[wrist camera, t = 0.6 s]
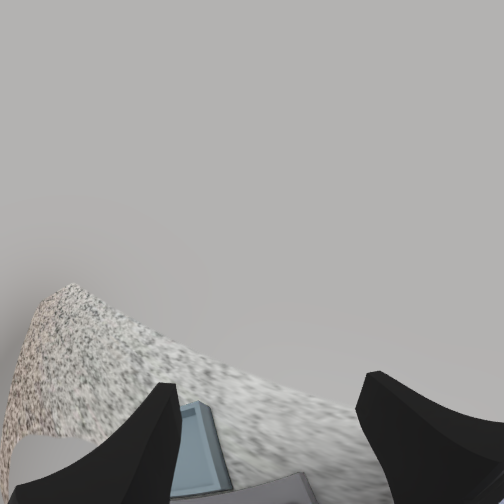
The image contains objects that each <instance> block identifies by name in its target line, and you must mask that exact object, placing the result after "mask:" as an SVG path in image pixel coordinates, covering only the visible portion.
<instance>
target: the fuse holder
mask: <svg viewBox="0 0 504 504" xmlns="http://www.w3.org/2000/svg"><path fill="white" fill-rule="evenodd" d="M170 504H318V503H317V501H316V499H315V496H314V494H313V492H312V490H311V487H310V485H309V483H308V480H307V478H306V476H305V474H304V472H303V473H296V474H293V475H290V476H287V477H284V478H281V479H278V480H275V481H272V482H269V483H265V484H262V485H258V486H254V487H251V488H247V489H242V490H238V491H234V492H229V493H224V494H219V495H213V496H207V497H201V498H194V499H185V500H175V501H170Z"/></svg>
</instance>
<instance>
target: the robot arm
mask: <svg viewBox="0 0 504 504" xmlns="http://www.w3.org/2000/svg"><path fill="white" fill-rule="evenodd" d="M355 410H356V413H357V416H358V419H359V422H360V425H361V428H362V430H363V432H364V434H365V436H366V438H367V440H368V442H369V443H370V445H371V447H372V449H373V451H374V453H375V455H376V457H377V459H378V460H379V462H380V464H381V466H382V468H383V471H384V473H385V475H386V478H387V481H388V484H389V487H390V490H391V493H392V496H393V500H394V503H395V504H504V423H502V422H493V421H487V420H482V419H478V418H474V417H470V416H467V415H463V414H461V413H458V412H455V411H453V410H450V409H448V408H445V407H443V406H441V405H439V404H437V403H435V402H433V401H431V400H429V399H427V398H425V397H424V396H422V395H420V394H418V393H417V392H415V391H413V390H412V389H410V388H408V387H407V386H405V385H403V384H402V383H400V382H398V381H397V380H395V379H393V378H392V377H390V376H389V375H387V374H385V373H383V372H381V371H375V372H370V373H367V374H366V378H365V381H364V384H363V387H362V390H361V393H360V396H359V399H358V402H357V405H356V408H355ZM182 421H183V420H182V415H181V410H180V405H179V400H178V394H177V389H176V384H173V383H160V382H159V383H158V384H157V385H156V386H155V388H154V389H153V390H152V391H151V393H150V394H149V395H148V396H147V398H146V399H145V400H144V401H143V403H142V404H141V405H140V406H139V407H138V408H137V410H136V411H135V412H134V413H133V414H132V415H131V416H130V417H129V418H128V420H127V421H126V422H125V423H124V424H123V425H122V426H121V427H120V428H119V429H118V430H116V431H115V432H114V433H113V434H112V435H111V436H110V437H109V438H108V439H107V440H106V441H104V442H103V443H102V444H101V445H99V446H98V447H97V448H96V449H94V450H93V451H92V452H90V453H89V454H87V455H86V456H84V457H83V458H81V459H80V460H78V461H77V462H75V463H73V464H71V465H70V466H68V467H66V468H64V469H62V470H60V471H58V472H56V473H53V474H51V475H49V476H47V477H44V478H41V479H38V480H35V481H32V482H29V483H25V484H21V485H17V486H16V488H15V489H14V491H13V493H12V495H11V498H10V500H9V502H8V504H170V494H171V487H172V482H173V477H174V473H175V468H176V463H177V458H178V453H179V449H180V444H181V434H182Z"/></svg>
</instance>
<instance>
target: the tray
mask: <svg viewBox="0 0 504 504" xmlns="http://www.w3.org/2000/svg"><path fill="white" fill-rule="evenodd" d="M180 410H181V415H182V420H183V421H182V434H181V444H180V449H179V453H178V458H177V463H176V468H175V473H174V477H173V482H172V487H171V494H170V499H171V498H182V497H190V496H197V495H204V494H210V493H216V492H221V491H226V490H231V489H233V488H232V485H231V482H230V479H229V475H228V472H227V469H226V466H225V462H224V459H223V455H222V452H221V448H220V445H219V441H218V437H217V434H216V430H215V426H214V422H213V418H212V414H211V410H210V407H208V406H207V405H205V404H203V403H202V402H200V401H196V402H193V403H190V404H187V405H184V406H181V407H180Z"/></svg>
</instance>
